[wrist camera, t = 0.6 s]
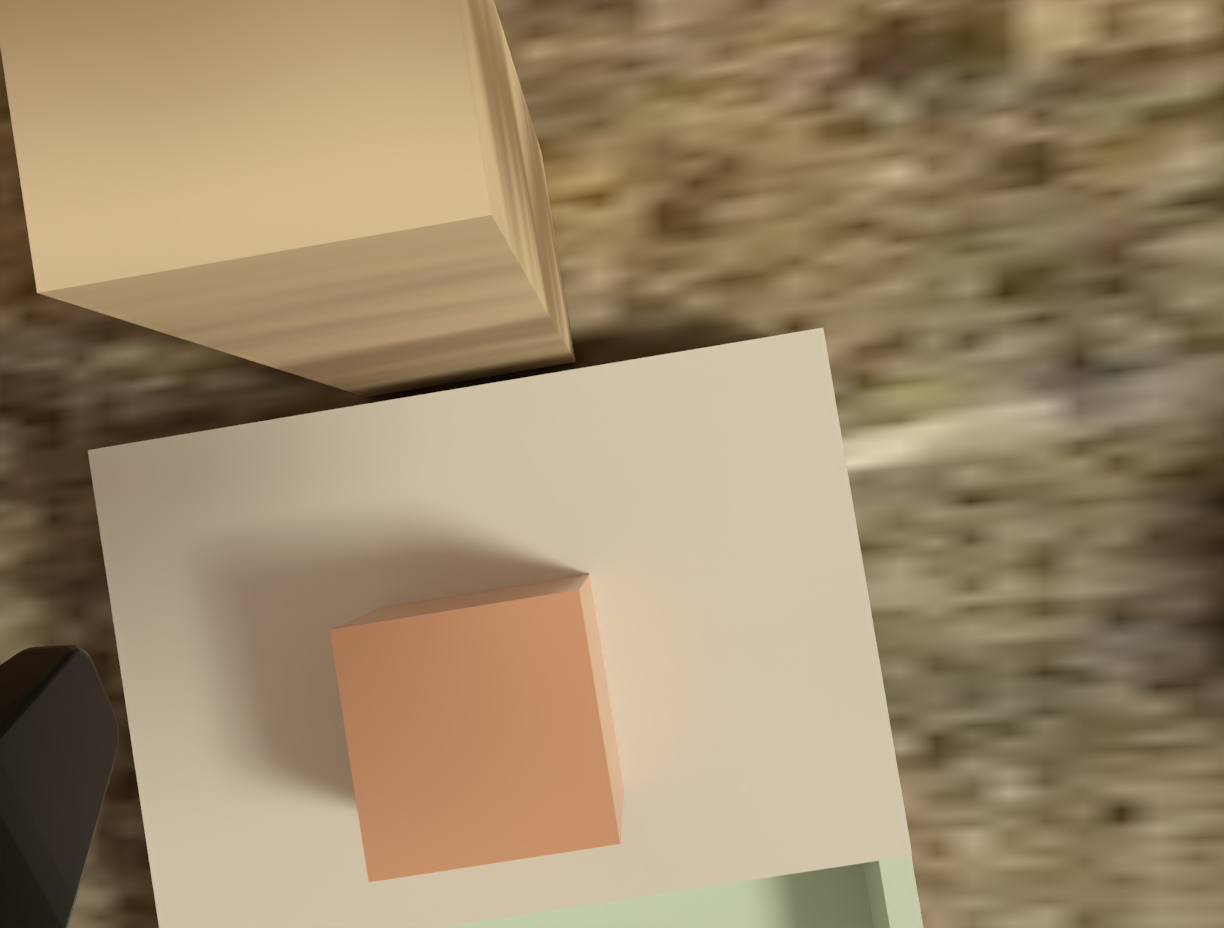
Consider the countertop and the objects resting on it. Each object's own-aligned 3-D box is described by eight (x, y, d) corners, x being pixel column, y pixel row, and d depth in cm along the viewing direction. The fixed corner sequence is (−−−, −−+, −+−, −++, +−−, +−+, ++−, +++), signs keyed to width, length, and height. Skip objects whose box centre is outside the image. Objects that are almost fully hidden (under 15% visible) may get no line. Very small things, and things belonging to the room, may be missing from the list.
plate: (881, 813, 22) (912, 855, 19) (219, 913, 22) (165, 968, 20) (803, 345, 22) (823, 327, 19) (149, 454, 22) (87, 450, 20)
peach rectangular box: (624, 788, 19) (620, 843, 16) (411, 821, 19) (368, 881, 16) (589, 574, 19) (578, 589, 16) (378, 608, 20) (329, 629, 17)
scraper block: (575, 362, 22) (491, 214, 10) (366, 396, 22) (37, 293, 10) (541, 153, 22) (418, -239, 10) (333, 188, 22) (-30, -156, 10)
